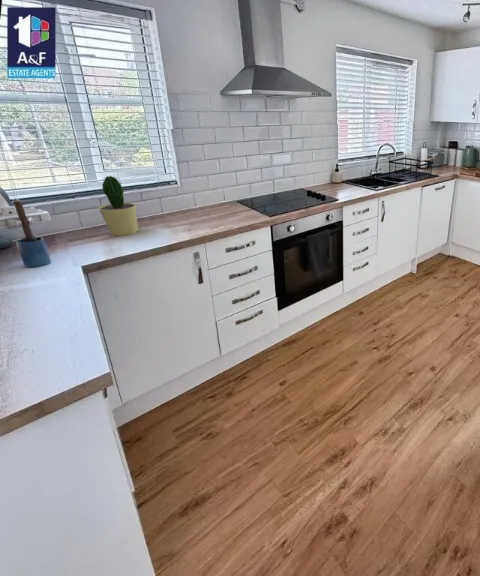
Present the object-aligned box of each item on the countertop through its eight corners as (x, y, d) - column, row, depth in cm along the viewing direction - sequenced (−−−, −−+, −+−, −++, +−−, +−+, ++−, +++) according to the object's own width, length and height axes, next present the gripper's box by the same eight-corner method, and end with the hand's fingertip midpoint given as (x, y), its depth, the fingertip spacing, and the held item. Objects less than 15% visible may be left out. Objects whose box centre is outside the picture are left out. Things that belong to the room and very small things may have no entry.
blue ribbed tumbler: (22, 268, 141) (13, 243, 138) (26, 262, 148) (18, 238, 144) (49, 265, 145) (41, 241, 142) (52, 260, 152) (45, 236, 148)
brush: (26, 254, 142) (8, 202, 135) (28, 251, 145) (11, 200, 138) (40, 253, 144) (23, 201, 137) (42, 250, 147) (25, 199, 140)
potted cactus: (105, 234, 191) (86, 174, 178) (139, 228, 200) (123, 171, 187) (110, 241, 181) (89, 178, 168) (145, 235, 190) (129, 175, 177)
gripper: (-31, 214, 136) (-15, 218, 130) (37, 206, 153) (54, 210, 147) (-25, 230, 138) (-9, 236, 132) (42, 221, 155) (59, 225, 149)
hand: (25, 222), depth 140 cm, fingers closed on brush, 2 cm apart
